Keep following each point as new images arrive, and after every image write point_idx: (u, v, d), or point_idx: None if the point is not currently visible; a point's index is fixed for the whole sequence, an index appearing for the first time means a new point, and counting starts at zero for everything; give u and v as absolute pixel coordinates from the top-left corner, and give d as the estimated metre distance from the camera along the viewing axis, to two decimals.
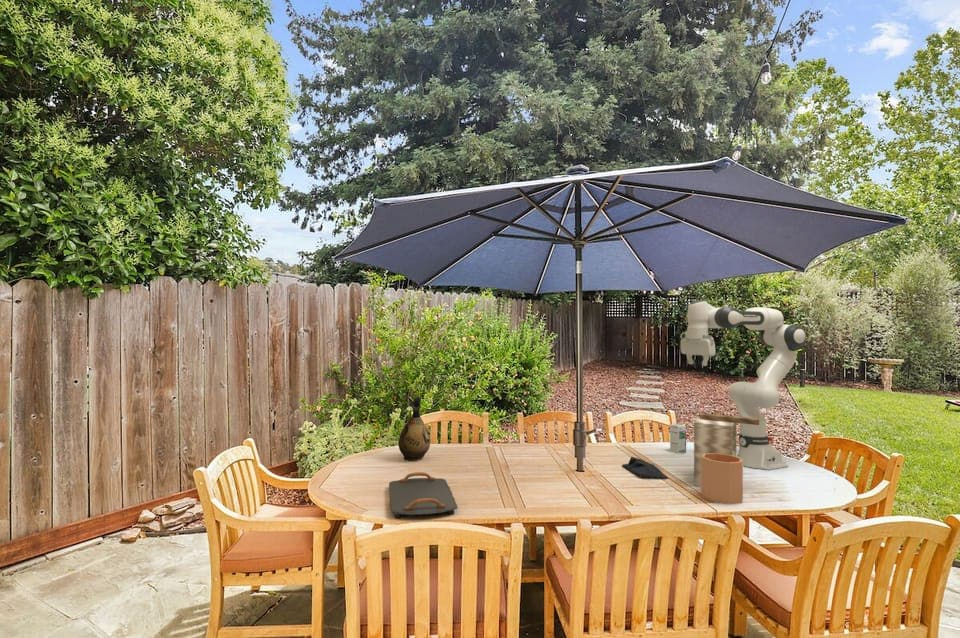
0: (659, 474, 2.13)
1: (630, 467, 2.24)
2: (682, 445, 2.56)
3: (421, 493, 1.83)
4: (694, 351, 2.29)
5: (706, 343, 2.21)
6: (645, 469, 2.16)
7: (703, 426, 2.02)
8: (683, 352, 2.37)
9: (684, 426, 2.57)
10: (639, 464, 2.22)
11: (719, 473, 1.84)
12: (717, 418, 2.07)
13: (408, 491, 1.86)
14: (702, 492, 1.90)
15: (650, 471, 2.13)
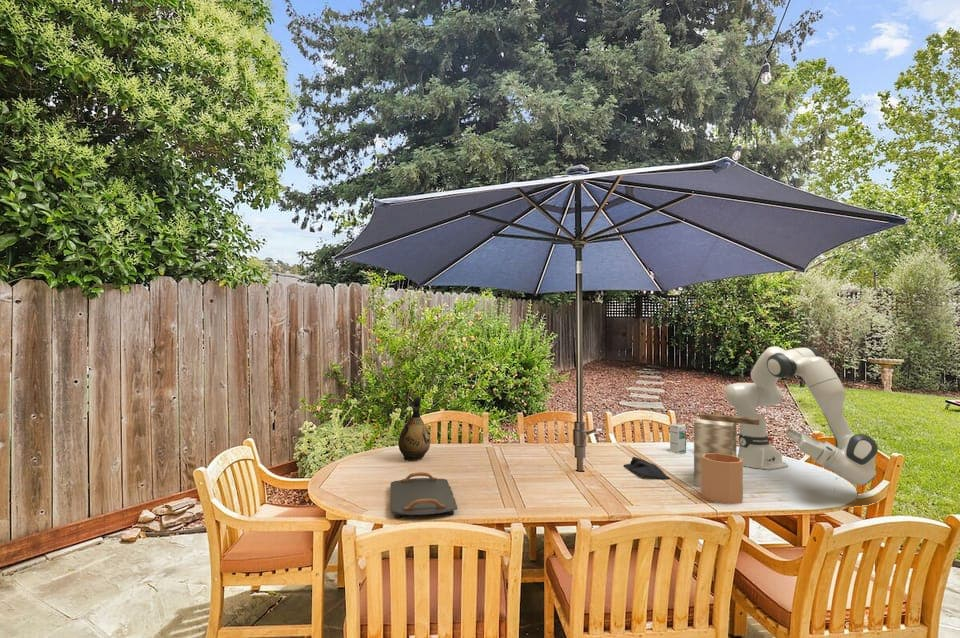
0: (661, 474, 2.12)
1: (632, 467, 2.24)
2: (682, 445, 2.56)
3: (422, 493, 1.83)
4: None
5: None
6: (647, 469, 2.16)
7: (703, 426, 2.02)
8: (799, 447, 1.87)
9: (684, 426, 2.57)
10: (641, 464, 2.22)
11: (719, 473, 1.84)
12: (717, 418, 2.07)
13: (409, 491, 1.85)
14: (702, 492, 1.90)
15: (651, 471, 2.13)
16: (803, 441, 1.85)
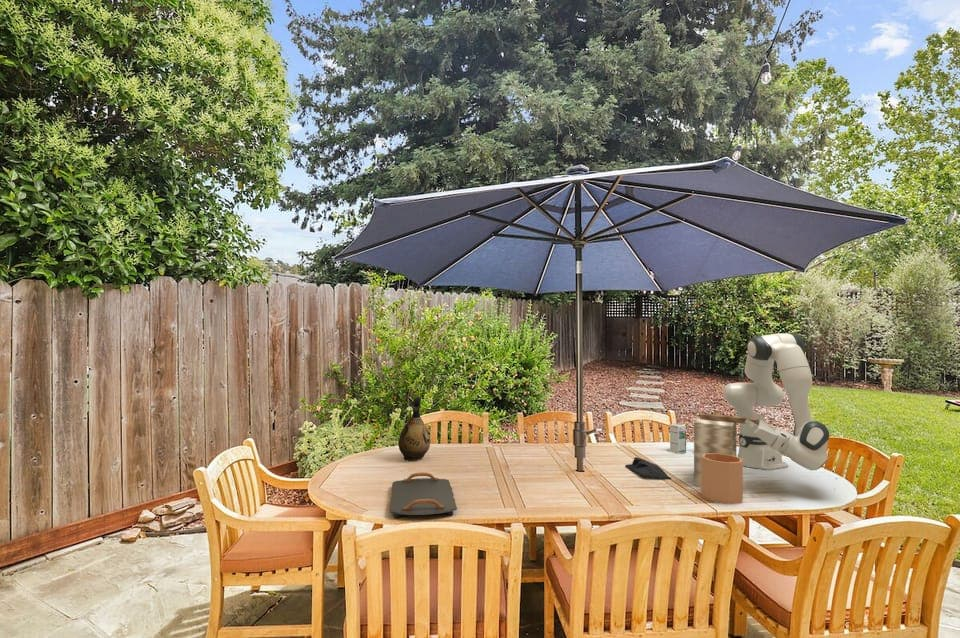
0: (662, 475, 2.12)
1: (633, 467, 2.23)
2: (682, 445, 2.56)
3: (422, 493, 1.83)
4: None
5: None
6: (648, 469, 2.16)
7: (703, 426, 2.02)
8: None
9: (684, 426, 2.57)
10: (642, 464, 2.21)
11: (719, 473, 1.84)
12: (717, 418, 2.07)
13: (410, 491, 1.85)
14: (702, 492, 1.90)
15: (653, 471, 2.12)
16: (759, 428, 1.93)
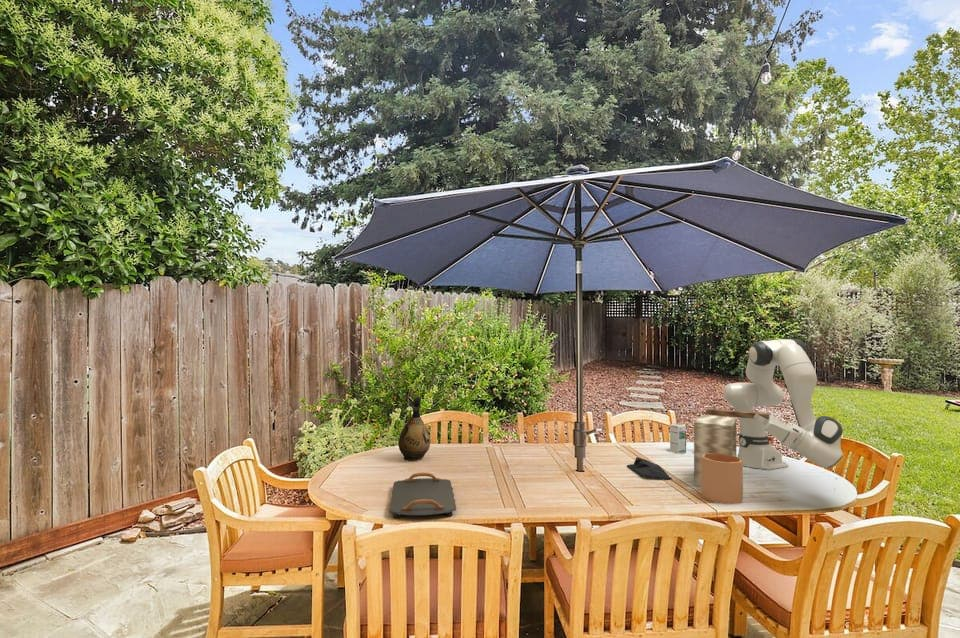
0: (663, 475, 2.12)
1: (634, 467, 2.23)
2: (682, 445, 2.56)
3: (423, 494, 1.83)
4: None
5: None
6: (649, 470, 2.15)
7: (703, 426, 2.02)
8: (765, 429, 1.82)
9: (684, 426, 2.57)
10: (643, 465, 2.21)
11: (719, 473, 1.84)
12: (724, 413, 1.95)
13: (410, 491, 1.85)
14: (702, 492, 1.90)
15: (654, 472, 2.12)
16: (769, 423, 1.80)
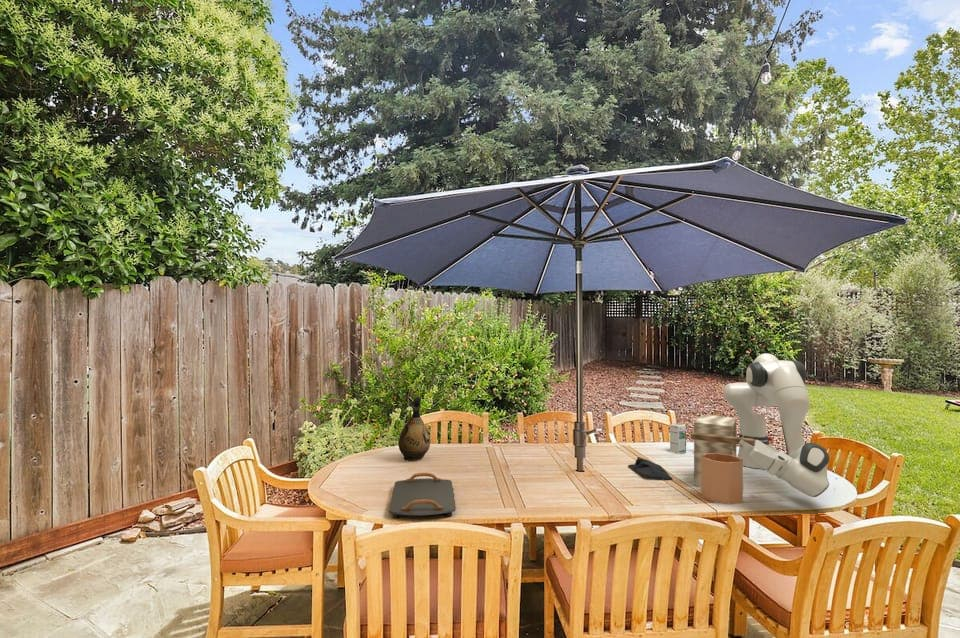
0: (663, 475, 2.11)
1: (635, 467, 2.23)
2: (682, 445, 2.56)
3: (423, 494, 1.83)
4: None
5: None
6: (650, 470, 2.15)
7: (703, 426, 2.02)
8: None
9: (684, 426, 2.57)
10: (644, 465, 2.21)
11: (719, 473, 1.84)
12: (709, 438, 1.91)
13: (411, 491, 1.85)
14: (702, 492, 1.90)
15: (654, 472, 2.12)
16: (754, 450, 1.76)
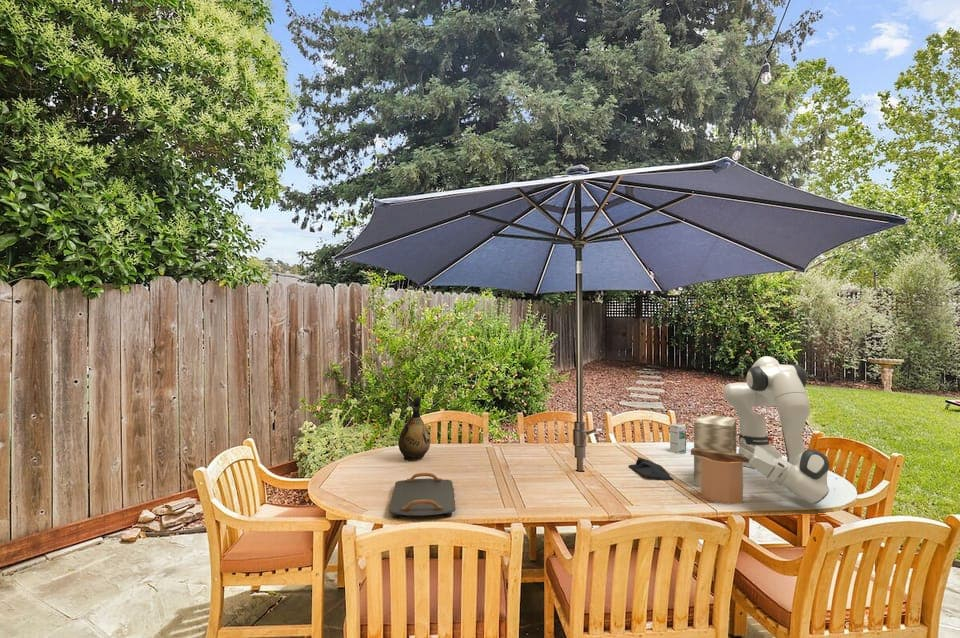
0: (664, 475, 2.11)
1: (636, 468, 2.23)
2: (682, 445, 2.56)
3: (423, 494, 1.83)
4: None
5: None
6: (650, 470, 2.15)
7: (703, 426, 2.02)
8: None
9: (684, 426, 2.57)
10: (645, 465, 2.21)
11: (719, 473, 1.84)
12: (709, 454, 1.91)
13: (411, 491, 1.85)
14: (702, 492, 1.90)
15: (655, 472, 2.12)
16: (754, 457, 1.76)
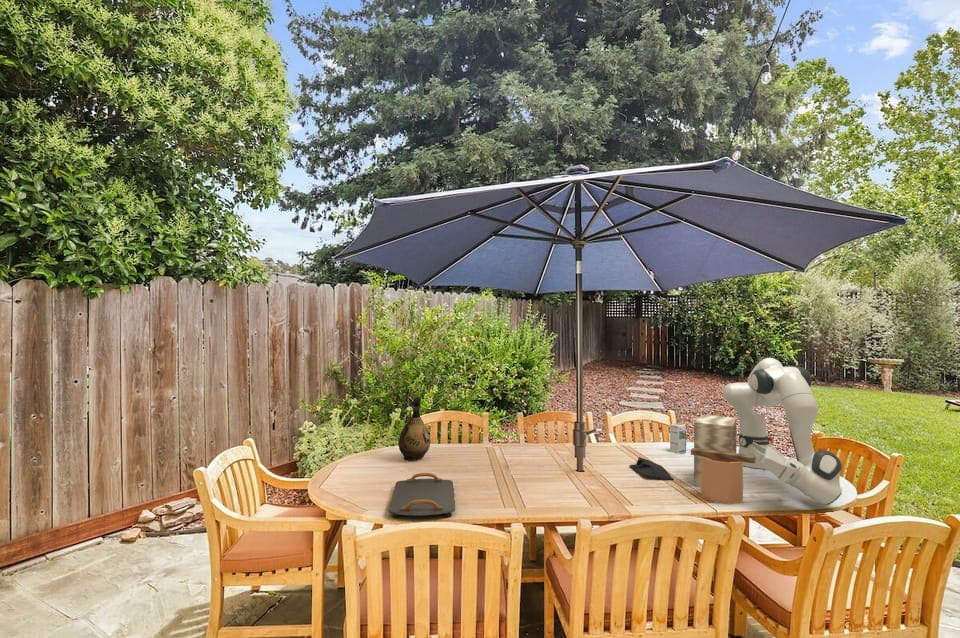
0: (664, 475, 2.11)
1: (636, 468, 2.23)
2: (682, 445, 2.56)
3: (423, 494, 1.82)
4: None
5: None
6: (650, 470, 2.15)
7: (703, 426, 2.02)
8: None
9: (684, 426, 2.57)
10: (645, 465, 2.21)
11: (719, 473, 1.84)
12: (709, 454, 1.91)
13: (411, 491, 1.85)
14: (702, 492, 1.90)
15: (655, 472, 2.12)
16: (765, 457, 1.74)
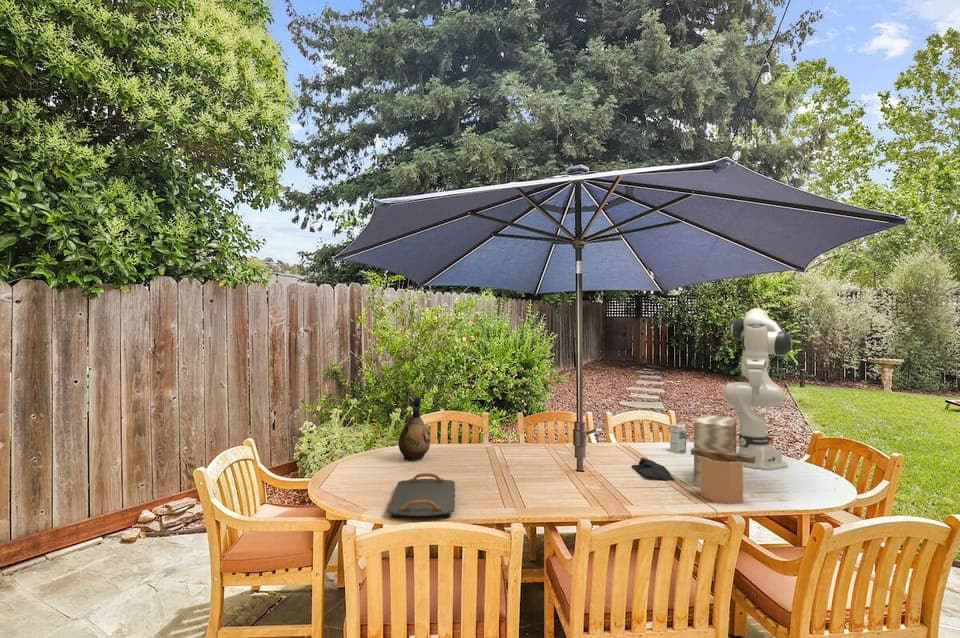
0: (665, 476, 2.11)
1: (638, 468, 2.23)
2: (682, 445, 2.56)
3: (424, 494, 1.82)
4: None
5: None
6: (652, 470, 2.15)
7: (703, 426, 2.02)
8: (760, 385, 1.96)
9: (684, 426, 2.57)
10: (647, 465, 2.20)
11: (719, 473, 1.84)
12: (709, 454, 1.91)
13: (412, 491, 1.85)
14: (702, 492, 1.90)
15: (656, 472, 2.11)
16: (751, 385, 1.96)
